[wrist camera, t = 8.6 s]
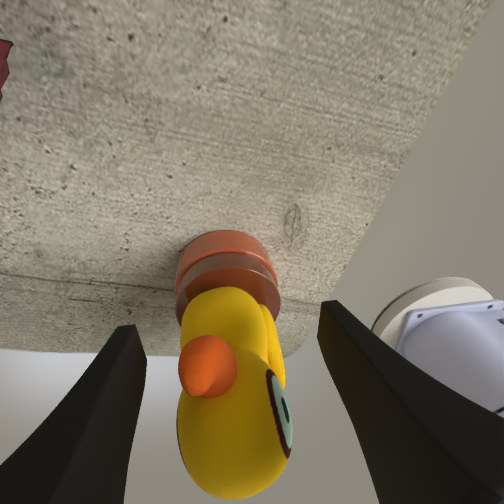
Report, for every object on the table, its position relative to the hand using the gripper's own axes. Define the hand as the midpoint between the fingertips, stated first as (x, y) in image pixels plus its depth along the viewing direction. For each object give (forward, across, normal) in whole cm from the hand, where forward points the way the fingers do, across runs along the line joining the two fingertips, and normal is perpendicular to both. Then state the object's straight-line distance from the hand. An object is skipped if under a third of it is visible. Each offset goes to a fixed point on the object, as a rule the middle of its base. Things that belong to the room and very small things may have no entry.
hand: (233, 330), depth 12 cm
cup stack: (+10, 0, +5) cm, 11 cm away
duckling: (+6, 0, +5) cm, 8 cm away
